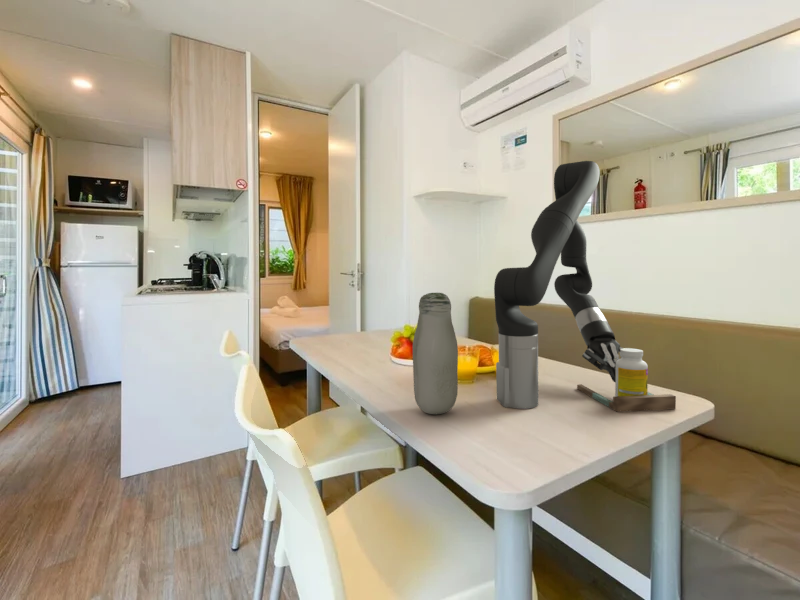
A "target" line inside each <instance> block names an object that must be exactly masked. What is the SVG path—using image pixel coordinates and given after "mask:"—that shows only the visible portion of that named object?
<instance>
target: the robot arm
mask: <svg viewBox="0 0 800 600" xmlns="http://www.w3.org/2000/svg"><path fill="white" fill-rule="evenodd" d="M600 175H601V174H600V167H599V165H598V163H596V162H595V161H593V160H582V161H576V162H575V161H574V162H568V163H562V164H559V165H558V166H557V168H556V169H555V172H554V176H553V189H554V190H553V191H554V196H555V200H554V201H553V202H551V203H550V204H549V205H548V206H546V207H545V208H544V209H543V210H542V211H541V212H540V213H539V215H538V217H537V219H536V221H535V223H534V224H533V226H532V229H531V232H530V233H531V234H530V236H531V237H530V238H531V242H532V246H533V248H534V251H535V257H534V259H533V261H532V262H531V264H530V265H528V266H526V267H525V266H524V267H523V266H522V267H521V266H520V267H506V268H505V267H504V268H502V269H500V270H499V271H498V272H497V273H496V276H495V278H494V279H495V280H494V283H493V285H494V287H493V289H494V290H493V291H494V292H493V295H494V309H495V323H496V324H497V330H498V362H496V364H495V369H496V370H495V371H496V375H495V376H496V378H495V379H496V382H495V384H496V387H495V388H496V400H497V401H498V403H499V404H501V406H503V408H512V409H521V410H522V409H523V410H524V409H525V410H527V409H532V408H536V407H537V406H538V405H539V324H538V323H537V321H535V320H533V319H531V318H530V317H528V316H526V315H525V314H524V313H523V312H522V311H521V309H520V307H533V306H538V305H539V303H541V301H542V300H543V298H544V296H545V295H546V292H547V290H548V288H549V284H550V282H551V279H552V276H553V272H554V269H555V267H556V264H557V263H558V259H559V258H560V264H561V265H562V266H563V267H567V268H575V271H576V273H567V274H566V273H565V274H560V275H557V277H556V278H555V280H554V283H553V285H554V290H555V292H556V294H557V296H558V297H559V299H561V301H562V302H564V304H565V305H566V306H567V307H569V310H570V311H571V313H572V315H573V317H574V319H575V323H576V326H577V327H578V330H579V332H580V334H581V337H582V339H583V341H584V343H585V345H586V346H587V347H586V350H585V351H584V352H583V353H582V356H581V357H582V358H584V359H585V360H586V362H589V363H590V364H592V365H593V366H594V367H596V368H597V369H598V370H600V371H603V370H605V371H607V372H608V374H609V377H610V378H611V380H612V382H614V383H616V361H617V360H618V359H620V357H621V354H620V350H621V349H623V348H624V347H622V346H621V344H620V343H619V342H618V341H617V340H616V336H615V333H614V331H613V330H612V328H611V326H610V324H609V322H608V320H607V318H606V317H605V315H604V313H603V312H602V311H601V309H600V307H599V305H598V304H597V301H596V299H595V298H594V297H593V296H592V295H590V292H591V291H592V290H593V289H592V288H593V280H592V276H591V274H590V273H591V272H590V270H589V266H588V261H587V236H586V233H585V231H584V229H583V226H582V225H581V224H580V222H579V220H578V219H579V216H580V214H581V213H582V211H583V210H584V208H585V205H586V204H587V203H588V201H589V200H590V198H591V197H592V196H593V194H594V193H595V190H596V189H597V186H598V183H599V180H600Z"/></svg>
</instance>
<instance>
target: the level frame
mask: <svg viewBox="0 0 800 600" xmlns="http://www.w3.org/2000/svg"><path fill="white" fill-rule="evenodd" d="M576 389H577V390H578V391H580V392H582V393H583V394H585V395H587V396H589V397H591V398H593V400H596V401H598V402H599V403H601V404H603V405H605V406H607V407H608V408H609V409H611V410H613V411H616V412H617V413H619V412H620V413H621V412H622V413H623V412H638V411H639V412H643V411H660V410H661V411H663V410H667V411H668V410H676V401H677V399H676V398H677V397H676V395H674V394H671V393H669V394H668V393H667V394H654V393H652V392H649V391H648V393H647V394H648V395H640V396H617V397H615V396H613V397H612V400H611V399H609V398H608V397H605V396H604V395H602V394H600V393H598V392H596V391H595V390H593V389H591V388H589V387H587V386H586V385H584V384H580V383H579V384H577V385H576Z"/></svg>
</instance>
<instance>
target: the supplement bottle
mask: <svg viewBox="0 0 800 600" xmlns="http://www.w3.org/2000/svg"><path fill="white" fill-rule="evenodd" d="M622 348H623V349H621V350H620V352H619V355H620V354H621V356H620V358H619V359H618V360H617V361H616V383H615V382H614V383H615V386H614V387H615V388H614V390H615V393H614V394H615V395H614V397H617V396H640V395H648V394H647V393H648V392H649V391H648V387H649V386H648V383H649V381H648V379H649V378H648V376H649V375H648V373H649V370H648V367H649V366H648V363H647V362H646V361H644V360H643V358H644V357H643V356H644V350H642V349H638V348H631V347H625V348H624V347H622Z"/></svg>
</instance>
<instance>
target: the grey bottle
mask: <svg viewBox="0 0 800 600" xmlns="http://www.w3.org/2000/svg"><path fill="white" fill-rule="evenodd" d="M418 312H419V313H418V318H417V323H416V329H415V331H414V335H413V341H412V370H413V372H412V375H413V393H414V399H415V403H416V404H417V407H419V409H420V410H421V411H422V412H424V413H426V414H429V415H440V414H441V415H442V414H445V413H447V412H448V411H450V410H452V408H453V407H454V405H455V403H456V401H457V397H458V389H459V388H458V387H459V385H458V384H459V383H458V370H459V369H458V367H459V366H458V365H459V359H458V357H459V351H458V350H459V347H458V340H457V337H456V332H455V329H454V325H453V321H452V320H453V319H452V303H451V300H450V298H449V297H448V295H447V294H446V293H445V294H444V293H443V292H429V293H426V294H423V295H422V296H421V297H420V299H419V302H418Z"/></svg>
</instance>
